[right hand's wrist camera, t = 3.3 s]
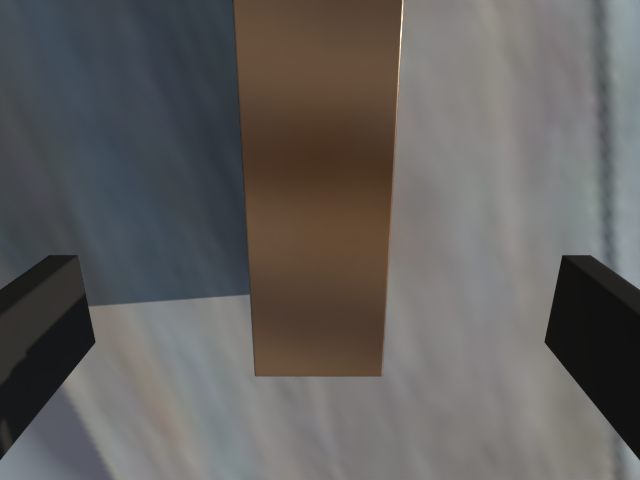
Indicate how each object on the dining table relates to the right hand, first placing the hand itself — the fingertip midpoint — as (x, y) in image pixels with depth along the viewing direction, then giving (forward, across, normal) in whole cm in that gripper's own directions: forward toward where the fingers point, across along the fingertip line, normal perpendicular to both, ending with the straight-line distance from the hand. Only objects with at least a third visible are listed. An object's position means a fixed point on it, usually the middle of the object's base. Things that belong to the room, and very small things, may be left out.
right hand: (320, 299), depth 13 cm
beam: (+12, 0, -28) cm, 30 cm away
